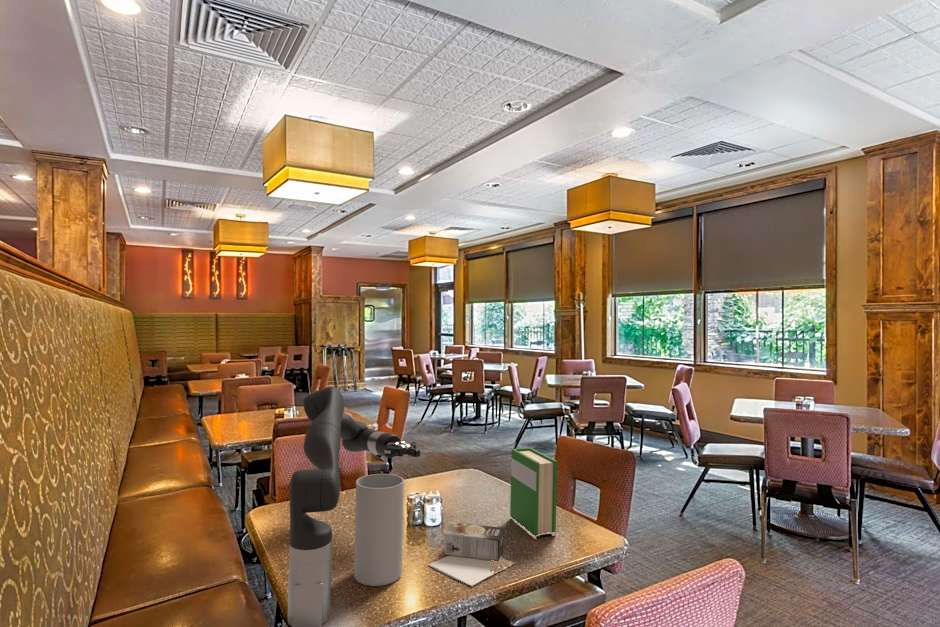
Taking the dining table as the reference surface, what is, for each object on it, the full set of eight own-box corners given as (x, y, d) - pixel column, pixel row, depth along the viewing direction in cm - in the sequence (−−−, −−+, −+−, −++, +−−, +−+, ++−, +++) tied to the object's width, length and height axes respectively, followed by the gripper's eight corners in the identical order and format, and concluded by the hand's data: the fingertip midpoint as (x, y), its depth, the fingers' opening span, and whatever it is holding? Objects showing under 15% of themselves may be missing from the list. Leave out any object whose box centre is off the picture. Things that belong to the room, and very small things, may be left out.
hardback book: (555, 536, 165) (557, 460, 166) (535, 539, 163) (536, 462, 163) (529, 516, 182) (530, 447, 182) (510, 519, 179) (511, 449, 179)
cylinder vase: (380, 559, 147) (382, 471, 147) (411, 574, 139) (413, 480, 139) (343, 576, 137) (346, 481, 137) (375, 593, 129) (377, 492, 130)
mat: (515, 564, 146) (515, 562, 146) (471, 587, 133) (471, 585, 133) (473, 546, 157) (473, 544, 157) (429, 566, 144) (429, 564, 144)
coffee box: (452, 521, 158) (504, 526, 155) (451, 542, 158) (504, 548, 155) (444, 533, 149) (500, 539, 146) (443, 555, 149) (499, 562, 146)
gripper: (367, 435, 169) (402, 444, 157) (399, 430, 178) (434, 438, 166) (367, 458, 168) (401, 469, 157) (399, 452, 178) (433, 462, 166)
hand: (418, 453), depth 161 cm, fingers closed
